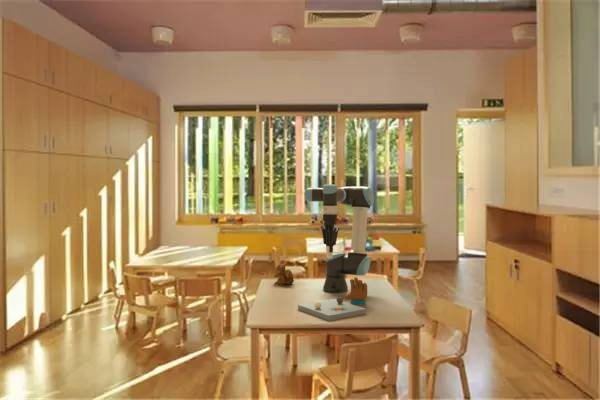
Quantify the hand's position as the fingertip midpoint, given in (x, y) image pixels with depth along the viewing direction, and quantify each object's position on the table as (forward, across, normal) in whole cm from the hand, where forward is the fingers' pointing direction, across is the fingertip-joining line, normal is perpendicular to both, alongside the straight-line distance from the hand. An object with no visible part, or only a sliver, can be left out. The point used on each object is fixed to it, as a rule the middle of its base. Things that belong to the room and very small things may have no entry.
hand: (329, 258), depth 264 cm
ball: (+25, +13, -4) cm, 28 cm away
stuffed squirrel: (+27, -66, +14) cm, 72 cm away
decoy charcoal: (+22, +4, +4) cm, 23 cm away
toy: (+27, +1, +18) cm, 32 cm away
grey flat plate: (+26, +7, -4) cm, 28 cm away
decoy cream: (+22, +6, -12) cm, 26 cm away
